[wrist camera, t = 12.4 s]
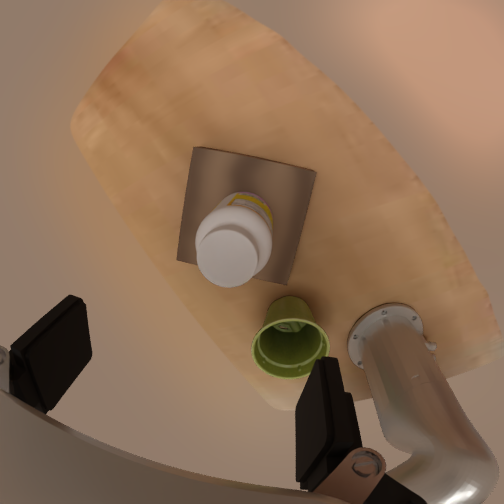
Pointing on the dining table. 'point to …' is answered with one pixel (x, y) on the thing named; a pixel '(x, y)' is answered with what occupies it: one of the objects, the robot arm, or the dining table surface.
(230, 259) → the supplement bottle
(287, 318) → the plant pot
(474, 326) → the dining table surface
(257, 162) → the brown wooden square slab
